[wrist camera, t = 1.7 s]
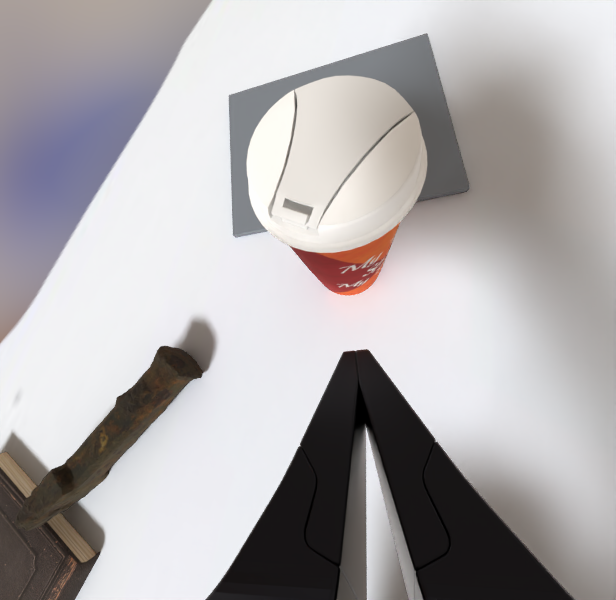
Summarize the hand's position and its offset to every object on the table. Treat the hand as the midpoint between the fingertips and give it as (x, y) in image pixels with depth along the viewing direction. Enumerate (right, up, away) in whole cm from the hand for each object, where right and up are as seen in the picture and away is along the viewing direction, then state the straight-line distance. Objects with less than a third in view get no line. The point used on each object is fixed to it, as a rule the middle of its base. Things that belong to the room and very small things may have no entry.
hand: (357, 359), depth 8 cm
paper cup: (+2, +5, +15) cm, 16 cm away
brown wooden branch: (-18, -11, +16) cm, 27 cm away
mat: (+1, +19, +18) cm, 26 cm away
